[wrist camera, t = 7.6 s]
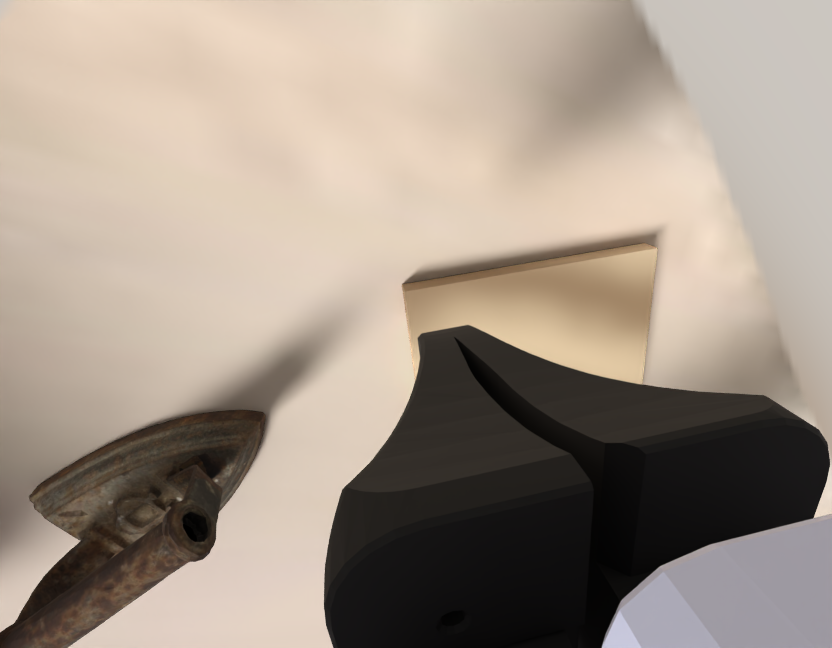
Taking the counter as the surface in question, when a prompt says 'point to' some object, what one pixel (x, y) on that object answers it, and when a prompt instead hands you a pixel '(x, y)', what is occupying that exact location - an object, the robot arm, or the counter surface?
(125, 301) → the counter surface
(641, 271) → the board
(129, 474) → the clothes iron
